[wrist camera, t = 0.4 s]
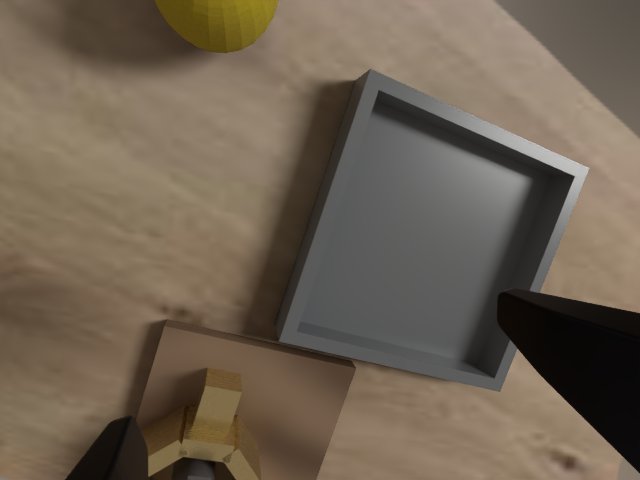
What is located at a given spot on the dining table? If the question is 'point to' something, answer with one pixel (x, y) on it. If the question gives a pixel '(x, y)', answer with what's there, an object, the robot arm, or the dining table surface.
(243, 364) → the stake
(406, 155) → the tray
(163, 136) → the dining table surface
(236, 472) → the ring
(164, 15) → the lemon
